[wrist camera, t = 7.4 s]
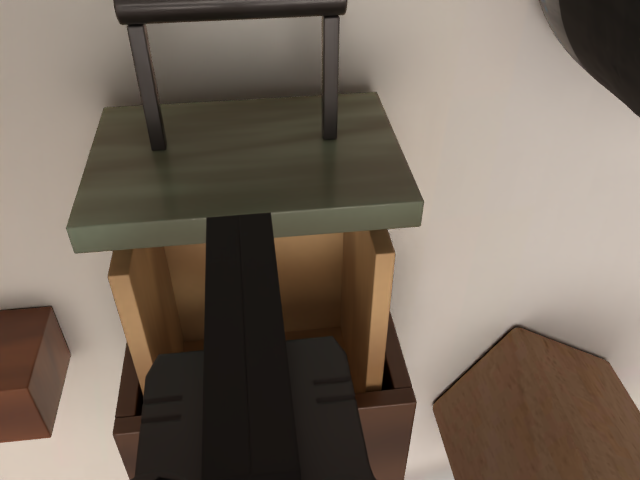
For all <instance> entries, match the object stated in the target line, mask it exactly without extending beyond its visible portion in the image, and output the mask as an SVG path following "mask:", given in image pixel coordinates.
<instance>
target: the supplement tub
mask: <svg viewBox="0 0 640 480" xmlns="http://www.w3.org/2000/svg"><path fill="white" fill-rule="evenodd" d="M539 1H540V4H541V7H542V10H543V12H544V15H545V17H546V19H547V21H548V24H549V26H550V27H551V29H552V31H553V33H554V34H555V36H556V38H557V39H558V40H559V42H560V43H561V44H562V45H563V47H564V48H565V49H566V51H567V52H568V53H569V54H570V55H571V57H572V58H573V59H574V60H575V61H576V62H577V63H578V64H579V65H580V66H582V67H583V68H584V69H585V70H586V71H587V72H588V73H589V74H590V75H591V76H592V77H593V78H594V79H596V80H597V81H598V82H599V83H600V84H602V85H603V86H604V87H605V88H606V89H608V90H609V91H610V92H611V93H613V94H614V95H615V96H616V97H617V98H618V99H620V100H621V101H622V102H623V103H625V104H626V105H627V106H628V107H629V108H630V109H631V110H632V111H633V112H634V113H635V114H636V115H637V116H639V117H640V0H539Z"/></svg>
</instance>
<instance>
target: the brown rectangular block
mask: <svg viewBox="0 0 640 480" xmlns="http://www.w3.org/2000/svg"><path fill="white" fill-rule="evenodd" d="M70 357H71V355H70V352H69V350H68V347H67V345H66V342H65V340H64V337H63V335H62V332H61V329H60V327H59V324H58V322H57V319H56V317H55V314H54V312H53V309H52V307H51V306H49V307H38V308H26V309H15V310H3V311H0V443H3V442H13V441H22V440H31V439H41V438H50V437H51V435H52V431H53V427H54V423H55V419H56V415H57V410H58V406H59V402H60V398H61V394H62V390H63V386H64V382H65V377H66V373H67V369H68V365H69V361H70Z"/></svg>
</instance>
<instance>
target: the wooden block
mask: <svg viewBox="0 0 640 480" xmlns="http://www.w3.org/2000/svg"><path fill="white" fill-rule="evenodd" d="M433 412H434V415H435V418H436V421H437V425H438V428H439V431H440V434H441V437H442V441H443V444H444V447H445V450H446V453H447V456H448V460H449V463H450V466H451V469H452V472H453V476H454V479H455V480H640V412H639V410H638V408H637V407H636V405H635V404H634V402H633V400H632V399H631V397H630V395H629V394H628V392H627V391H626V389H625V387H624V386H623V384H622V382H621V381H620V379H619V378H618V376H617V374H616V373H615V371H614V370H613V368H612V366H611V365H610V363H609V362H608V361H606V360H604V359H601V358H599V357H596V356H594V355H591V354H588V353H586V352H583V351H580V350H578V349H575V348H573V347H570V346H567V345H565V344H562V343H559V342H557V341H554V340H552V339H549V338H546V337H544V336H541V335H538V334H536V333H533V332H531V331H528V330H525V329H523V328H520V327H517V328H514V329H512V330H511V331H510V332H509V333H508V334H507V335H506V336H505V337H504V338H503V339H502V340H501V341H500V342H499V343H498V344H496V345H495V346H494V347H493V348H492V349H491V350H490V351H489V352H488V353H487V354H486V355H485V356H484V357H483V358H482V359H481V360H479V361H478V362H477V363H476V364H475V365H474V366H473V367H472V368H471V369H470V370H469V371H468V372H467V373H466V374H465V375H464V376H463V377H461V378H460V379H459V380H458V381H457V382H456V383H455V384H454V385H453V386H452V387H451V388H450V389H449V390H448V391H447V392H446V393H445V394H443V395H442V396H441V397H440V398H439V399H438V400H437V401H436V402H435V403H434V405H433Z"/></svg>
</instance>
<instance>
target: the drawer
mask: <svg viewBox="0 0 640 480" xmlns="http://www.w3.org/2000/svg"><path fill="white" fill-rule="evenodd" d="M113 2H114V8H115V13H116V16H117V19H118V21H119V23H120V24H121V25H127V31H128V36H129V41H130V46H131V51H132V56H133V61H134V66H135V71H136V76H137V81H138V86H139V91H140V96H141V100H142V105H139V106H122V107H105V108H104V109H103V112H102V115H101V118H100V121H99V125H98V128H97V131H96V134H95V137H94V141H93V144H92V147H91V150H90V153H89V156H88V160H87V163H86V166H85V169H84V172H83V176H82V179H81V182H80V185H79V188H78V192H77V195H76V198H75V201H74V204H73V207H72V211H71V214H70V217H69V220H68V223H67V227H66V229H67V232H68V235H69V238H70V241H71V244H72V247H73V250H74V253H89V252H101V251H113V253H112V258H111V263H110V268H109V273H108V280H109V283H110V286H111V290H112V293H113V296H114V300H115V303H116V306H117V310H118V313H119V316H120V320H121V323H122V326H123V330H124V333H125V336H126V340H127V343H128V346H129V350H130V353H131V356H132V360H133V363H134V366H135V370H136V373H137V376H138V380H139V383H140V386H141V390H142V393H143V395H144V386H145V377H146V375H147V373H148V371H149V370H150V368H151V366H152V365H153V363H154V361H155V359H156V358H157V356H158V355H159V354H169V353H179V352H189V351H199V350H204V315H205V263H206V217H219V216H232V215H244V214H257V213H270V212H271V217H272V226H273V235H274V244H275V252H276V261H277V270H278V278H279V287H280V296H281V304H282V313H283V322H284V331H285V339H286V340H295V339H305V338H315V337H325V336H333V337H334V338H335V340H336V341H337V342H338V344H339V345H340V346H341V348H342V349H343V350H344V352H345V353H346V354H347V358H348V363H349V368H350V373H351V379H352V382H353V387H354V392H355V393H364V392H373V391H381V389H382V379H383V369H384V360H385V350H386V340H387V330H388V320H389V311H390V301H391V291H392V281H393V272H394V262H395V250H394V247H393V245H392V242H391V239H390V236H389V233H388V230H387V229H394V228H407V227H419V226H421V220H422V213H423V205H424V200H423V198H422V196H421V193H420V191H419V189H418V186H417V184H416V182H415V179H414V177H413V175H412V173H411V170H410V168H409V166H408V163H407V161H406V159H405V156H404V154H403V152H402V150H401V147H400V145H399V143H398V140H397V138H396V136H395V133H394V131H393V129H392V127H391V124H390V122H389V120H388V117H387V115H386V113H385V110H384V108H383V106H382V104H381V101H380V99H379V97H378V94H377V92H368V93H350V94H338V72H339V21H340V18H339V16H338V15H344V14H345V13H346V9H347V0H113ZM311 16H322V95H315V96H298V97H280V98H262V99H245V100H227V101H210V102H192V103H175V104H160V100H159V95H158V89H157V84H156V78H155V73H154V67H153V62H152V56H151V51H150V45H149V40H148V34H147V29H146V24H154V23H176V22H199V21H221V20H244V19H266V18H289V17H311Z"/></svg>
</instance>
